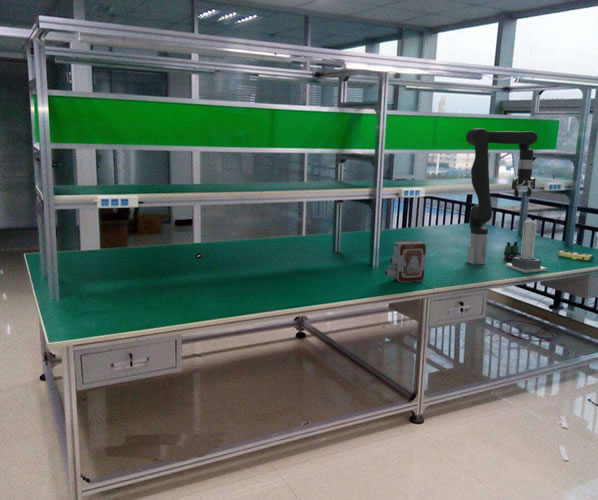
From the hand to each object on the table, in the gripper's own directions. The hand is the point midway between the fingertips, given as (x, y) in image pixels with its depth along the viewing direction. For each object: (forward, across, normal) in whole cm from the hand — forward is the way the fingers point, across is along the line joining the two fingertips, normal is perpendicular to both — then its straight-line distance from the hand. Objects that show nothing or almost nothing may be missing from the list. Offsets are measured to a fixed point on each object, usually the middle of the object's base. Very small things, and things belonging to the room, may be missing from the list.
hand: (522, 196), depth 313 cm
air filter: (+36, -7, -16) cm, 40 cm away
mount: (+38, -7, -16) cm, 41 cm away
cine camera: (+37, -85, -18) cm, 95 cm away
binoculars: (+38, 0, +2) cm, 38 cm away
